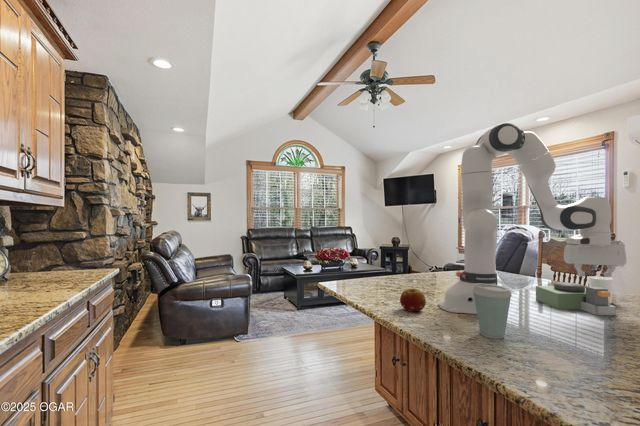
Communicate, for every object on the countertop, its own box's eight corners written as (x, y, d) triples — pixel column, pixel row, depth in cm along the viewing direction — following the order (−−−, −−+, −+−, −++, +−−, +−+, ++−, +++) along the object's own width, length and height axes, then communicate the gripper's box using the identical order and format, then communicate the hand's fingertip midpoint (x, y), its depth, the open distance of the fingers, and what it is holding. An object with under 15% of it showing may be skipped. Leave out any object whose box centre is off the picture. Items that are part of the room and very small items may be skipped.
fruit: (398, 312, 122) (398, 291, 122) (401, 306, 130) (401, 286, 131) (425, 314, 118) (424, 293, 119) (426, 308, 127) (426, 288, 127)
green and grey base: (571, 314, 117) (570, 292, 118) (535, 299, 139) (535, 281, 139) (623, 315, 116) (623, 292, 116) (579, 300, 138) (579, 281, 138)
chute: (586, 310, 123) (585, 286, 123) (598, 310, 123) (598, 286, 123) (599, 315, 116) (599, 290, 117) (613, 315, 116) (612, 290, 116)
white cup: (603, 299, 139) (603, 276, 139) (619, 304, 131) (618, 279, 131) (584, 299, 139) (583, 276, 140) (598, 304, 132) (597, 279, 132)
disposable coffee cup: (505, 330, 102) (504, 282, 102) (519, 343, 91) (518, 290, 91) (469, 328, 104) (468, 281, 104) (478, 340, 93) (477, 288, 93)
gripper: (617, 240, 124) (616, 276, 124) (561, 238, 125) (560, 274, 125) (631, 241, 117) (631, 279, 117) (572, 239, 119) (572, 277, 119)
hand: (594, 276), depth 121 cm, fingers open, 8 cm apart
